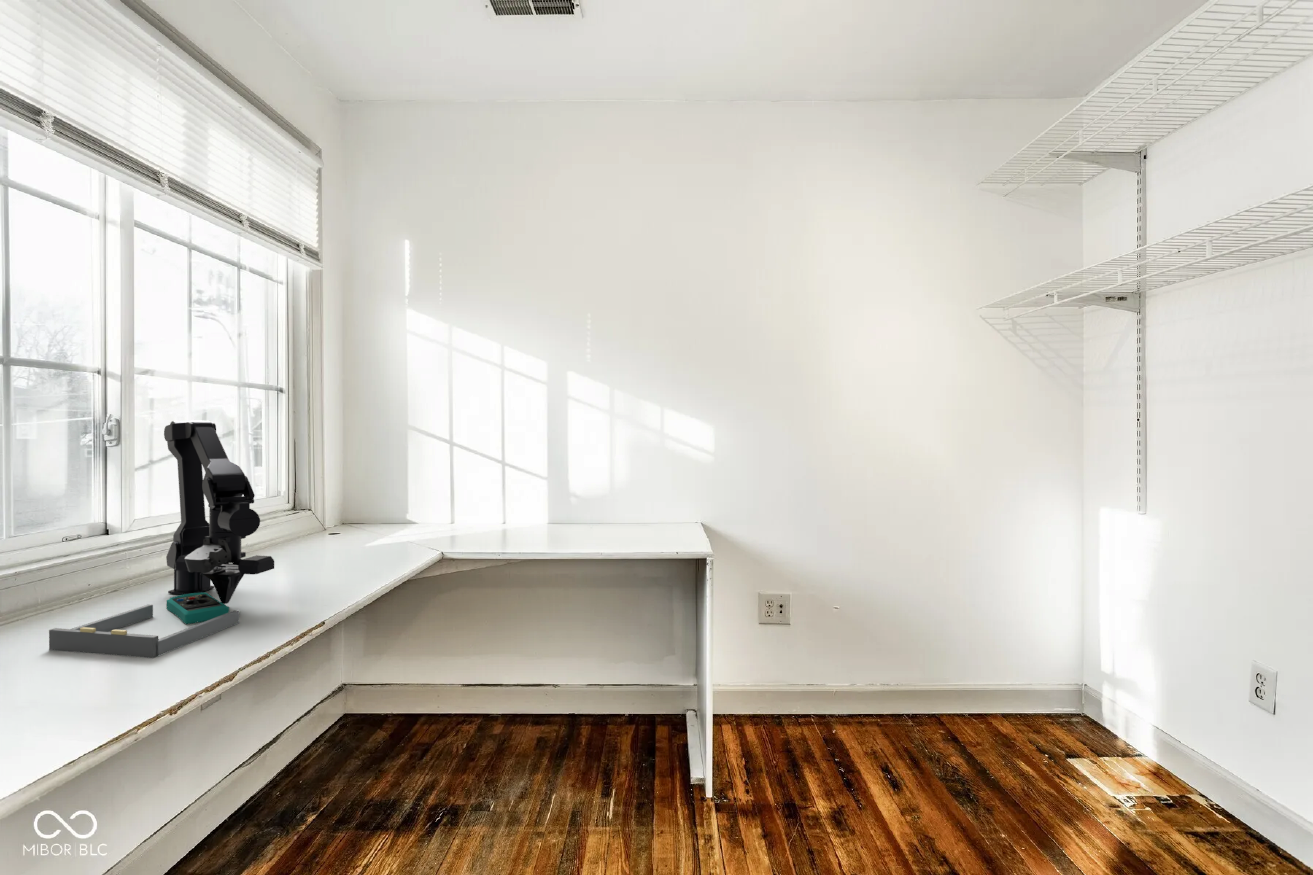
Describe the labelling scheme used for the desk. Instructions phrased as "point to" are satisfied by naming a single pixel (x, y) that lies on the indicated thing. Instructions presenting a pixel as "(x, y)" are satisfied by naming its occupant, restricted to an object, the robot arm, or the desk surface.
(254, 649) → the desk surface
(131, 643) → the frame
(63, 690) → the desk surface
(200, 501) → the robot arm
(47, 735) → the desk surface
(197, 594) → the digital multimeter
